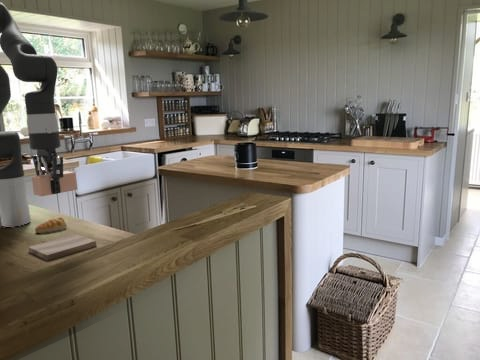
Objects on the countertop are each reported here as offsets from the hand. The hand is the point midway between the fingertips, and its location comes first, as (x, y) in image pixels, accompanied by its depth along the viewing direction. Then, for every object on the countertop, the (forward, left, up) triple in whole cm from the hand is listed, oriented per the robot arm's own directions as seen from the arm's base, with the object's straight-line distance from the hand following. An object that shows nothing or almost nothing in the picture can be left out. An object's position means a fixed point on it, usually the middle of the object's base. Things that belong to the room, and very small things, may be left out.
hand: (51, 192), depth 113 cm
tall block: (0, +6, +2) cm, 7 cm away
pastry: (-23, +9, -17) cm, 30 cm away
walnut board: (0, +1, -17) cm, 17 cm away
